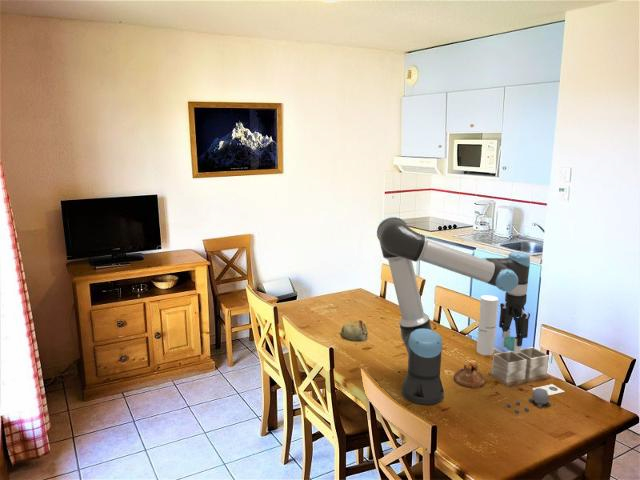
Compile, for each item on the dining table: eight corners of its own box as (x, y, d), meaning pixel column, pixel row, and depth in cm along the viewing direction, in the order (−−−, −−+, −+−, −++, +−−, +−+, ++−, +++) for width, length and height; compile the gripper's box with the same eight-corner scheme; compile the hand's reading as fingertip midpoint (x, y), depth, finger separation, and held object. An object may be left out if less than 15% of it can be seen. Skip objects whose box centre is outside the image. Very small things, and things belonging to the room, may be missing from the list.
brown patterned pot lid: (471, 372, 204) (472, 355, 202) (491, 385, 193) (492, 368, 191) (447, 376, 200) (448, 359, 198) (466, 391, 189) (467, 373, 187)
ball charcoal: (539, 408, 177) (540, 394, 176) (527, 400, 182) (529, 386, 181) (551, 405, 179) (553, 391, 178) (539, 398, 184) (541, 384, 183)
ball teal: (510, 354, 192) (511, 340, 191) (500, 348, 197) (501, 335, 196) (522, 352, 194) (523, 338, 193) (512, 346, 199) (513, 333, 198)
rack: (507, 386, 192) (509, 365, 190) (488, 374, 202) (490, 353, 200) (550, 377, 199) (552, 356, 197) (529, 365, 209) (531, 345, 207)
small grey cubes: (516, 413, 173) (517, 411, 173) (506, 406, 178) (506, 403, 178) (550, 405, 179) (551, 403, 179) (539, 398, 184) (539, 395, 183)
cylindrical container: (494, 356, 218) (499, 301, 213) (477, 354, 219) (481, 299, 214) (492, 349, 225) (497, 295, 219) (475, 347, 226) (480, 294, 221)
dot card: (543, 396, 185) (544, 396, 185) (531, 389, 190) (531, 388, 190) (564, 391, 188) (564, 391, 188) (552, 384, 194) (552, 383, 194)
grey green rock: (373, 340, 234) (374, 323, 232) (349, 344, 229) (350, 327, 228) (359, 329, 247) (359, 313, 245) (336, 333, 242) (336, 317, 240)
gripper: (542, 299, 184) (536, 358, 189) (507, 285, 201) (502, 339, 205) (526, 301, 181) (520, 361, 186) (491, 287, 198) (487, 342, 203)
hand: (511, 349), depth 196 cm, fingers closed on ball teal, 5 cm apart
